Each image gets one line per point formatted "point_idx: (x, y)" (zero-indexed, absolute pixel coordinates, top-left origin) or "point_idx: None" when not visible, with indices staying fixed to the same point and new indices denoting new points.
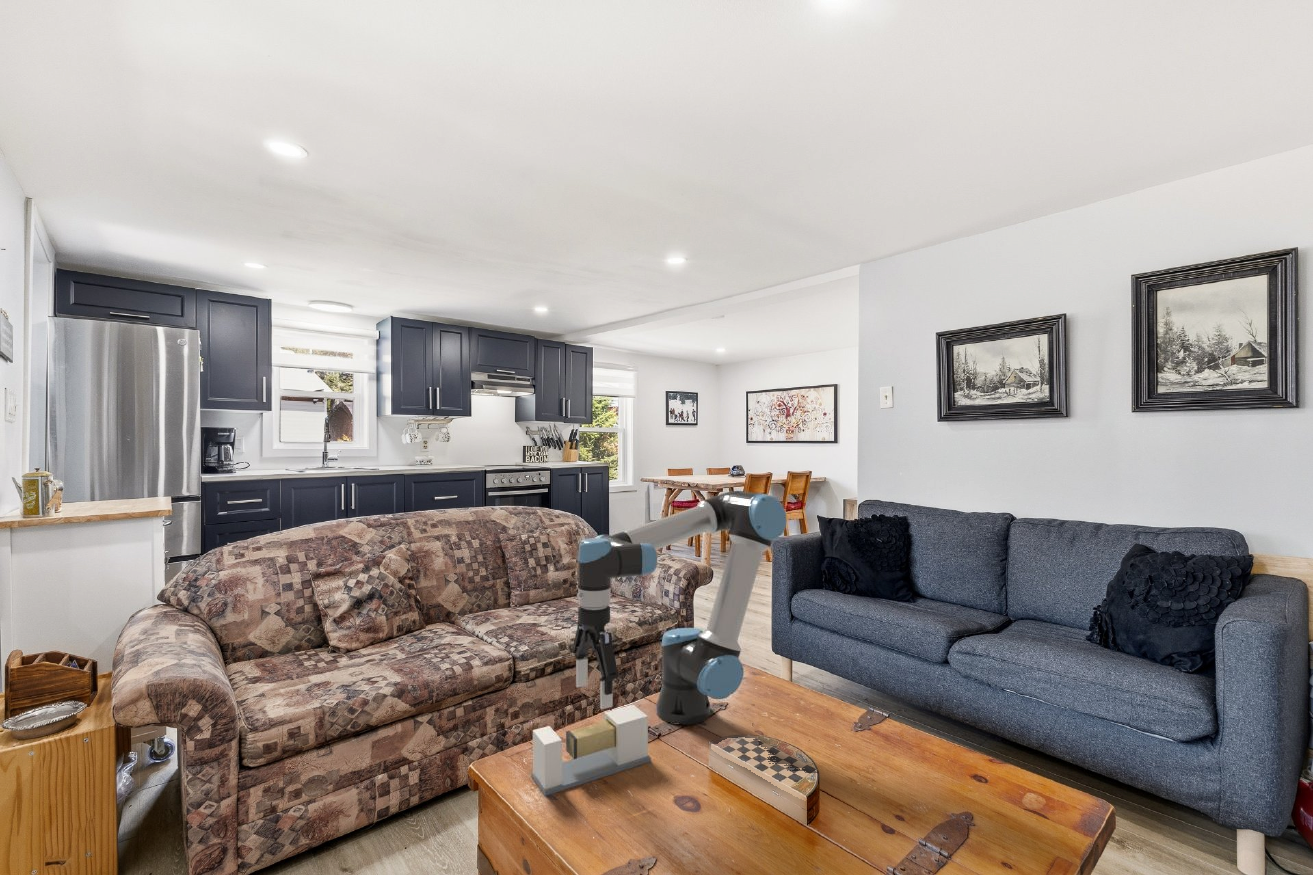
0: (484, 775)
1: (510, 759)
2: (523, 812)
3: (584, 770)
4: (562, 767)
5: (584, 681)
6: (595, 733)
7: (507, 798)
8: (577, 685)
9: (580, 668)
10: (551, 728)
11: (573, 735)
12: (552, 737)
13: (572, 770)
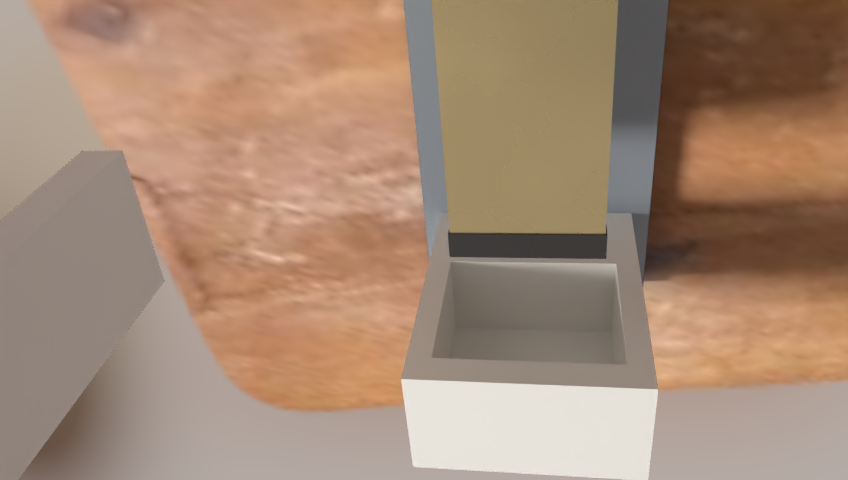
0: (333, 410)
1: (240, 302)
2: (691, 379)
3: None
4: None
5: (106, 225)
6: (613, 76)
7: None
8: (151, 293)
9: (8, 428)
10: (448, 380)
11: (541, 236)
12: (584, 418)
13: None
